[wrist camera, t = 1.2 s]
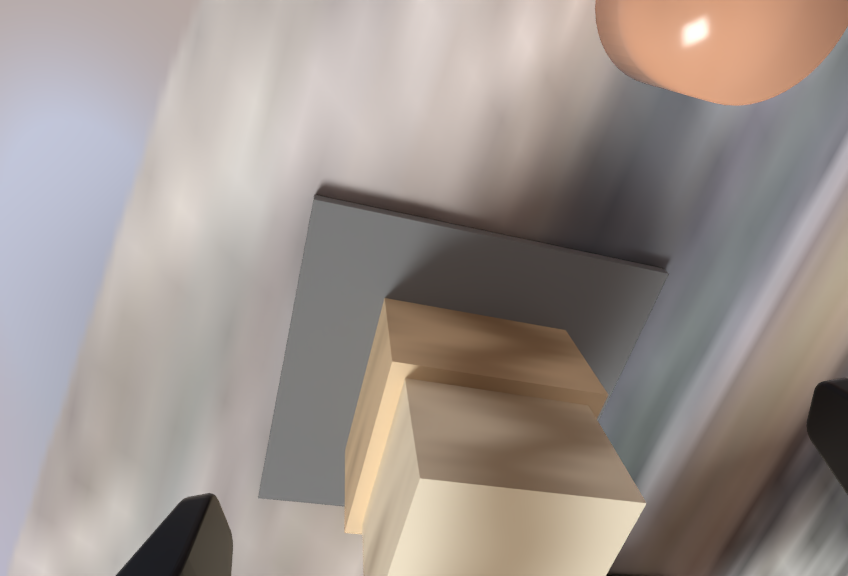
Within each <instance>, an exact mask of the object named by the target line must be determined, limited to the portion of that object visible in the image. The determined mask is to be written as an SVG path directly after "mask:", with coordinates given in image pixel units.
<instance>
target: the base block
mask: <svg viewBox="0 0 848 576" xmlns="http://www.w3.org/2000/svg"><path fill="white" fill-rule="evenodd" d="M405 378H408V379H414V380H421V381H428V382H435V383H441V384H448V385H455V386H462V387H468V388H475V389H482V390H489V391H495V392H502V393H509V394H516V395H522V396H529V397H536V398H543V399H549V400H556V401H563V402H569V403H576V404H583V405H588V406H589V407H590V409H591V411H592V412H593V414H594V416H595V417H596V419H597V418H598V416H599V414H600V412H601V409H602V407H603V405H604V403H605V401H606V399H607V397H608V393H607V392H606V390H605V389H604V387H603V386H602V384H601V383H600V381H599V380H598V378H597V377H596V375H595V374H594V372H593V371H592V369H591V368H590V366H589V365H588V363H587V362H586V360H585V358H584V357H583V355H582V354H581V352H580V351H579V349H578V348H577V346H576V345H575V343H574V342H573V340H572V339H571V337H570V336H569V334H568V333H567V331H566V330H562V329H556V328H551V327H545V326H540V325H534V324H528V323H523V322H517V321H511V320H506V319H500V318H495V317H489V316H483V315H478V314H472V313H466V312H461V311H455V310H450V309H444V308H438V307H433V306H427V305H421V304H416V303H410V302H405V301H399V300H393V299H388V298H384V302H383V306H382V309H381V313H380V317H379V321H378V325H377V329H376V333H375V337H374V340H373V344H372V348H371V352H370V356H369V360H368V364H367V368H366V371H365V375H364V379H363V383H362V387H361V391H360V395H359V399H358V402H357V406H356V410H355V414H354V418H353V422H352V426H351V430H350V433H349V437H348V441H347V445H346V449H345V533H352V534H362V522H363V519H364V516H365V512H366V509H367V505H368V502H369V499H370V495H371V492H372V488H373V485H374V482H375V478H376V475H377V471H378V468H379V465H380V461H381V458H382V454H383V451H384V447H385V444H386V441H387V437H388V434H389V430H390V427H391V424H392V420H393V417H394V413H395V410H396V407H397V403H398V400H399V396H400V393H401V390H402V386H403V383H404V379H405Z"/></svg>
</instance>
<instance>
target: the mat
mask: <svg viewBox="0 0 848 576" xmlns="http://www.w3.org/2000/svg"><path fill="white" fill-rule="evenodd" d="M668 275H669V274H668V273H667V272H666V271H665V270H664V269H663V268H659V267H654V266H649V265H644V264H640V263H635V262H630V261H626V260H621V259H616V258H611V257H607V256H602V255H597V254H593V253H588V252H583V251H578V250H574V249H569V248H564V247H559V246H555V245H550V244H545V243H541V242H536V241H531V240H526V239H522V238H517V237H512V236H508V235H503V234H498V233H493V232H489V231H484V230H479V229H474V228H470V227H465V226H460V225H456V224H451V223H446V222H441V221H437V220H432V219H427V218H423V217H418V216H413V215H408V214H404V213H399V212H394V211H389V210H385V209H380V208H375V207H371V206H366V205H361V204H356V203H352V202H347V201H342V200H338V199H333V198H328V197H323V196H319V195H314V200H313V206H312V211H311V216H310V222H309V227H308V232H307V238H306V243H305V248H304V254H303V259H302V265H301V270H300V275H299V281H298V286H297V291H296V297H295V302H294V308H293V313H292V318H291V324H290V329H289V334H288V340H287V345H286V351H285V356H284V361H283V367H282V372H281V377H280V383H279V388H278V393H277V399H276V404H275V410H274V415H273V420H272V426H271V431H270V436H269V442H268V447H267V453H266V458H265V463H264V469H263V474H262V479H261V485H260V490H259V496H258V498H262V499H273V500H283V501H293V502H304V503H314V504H325V505H335V506H345V449H346V445H347V441H348V437H349V433H350V430H351V426H352V422H353V418H354V414H355V410H356V406H357V402H358V399H359V395H360V391H361V387H362V383H363V379H364V375H365V371H366V368H367V364H368V360H369V356H370V352H371V348H372V344H373V340H374V337H375V333H376V329H377V325H378V321H379V317H380V313H381V309H382V306H383V302H384V298H388V299H393V300H399V301H405V302H410V303H416V304H421V305H427V306H433V307H438V308H444V309H450V310H455V311H461V312H466V313H472V314H478V315H483V316H489V317H495V318H500V319H506V320H511V321H517V322H523V323H528V324H534V325H540V326H545V327H551V328H556V329H562V330H566V331H567V333H568V334H569V336H570V337H571V339H572V340H573V342H574V343H575V345H576V346H577V348H578V349H579V351H580V352H581V354H582V355H583V357H584V358H585V360H586V362H587V363H588V365H589V366H590V368H591V369H592V371H593V372H594V374H595V375H596V377H597V378H598V380H599V381H600V383H601V384H602V386H603V387H604V389H605V390H606V392H607V393H608V397H607V399H606V401H605V403H604V405H603V407H602V409H601V412H600V414H599V416H598V418H597V421H599V419H600V417H601V415H602V413H603V411H604V409H605V406H606V404H607V402H608V400H609V398H610V396H611V394H612V392H613V390H614V388H615V386H616V383H617V381H618V379H619V377H620V375H621V373H622V371H623V369H624V367H625V365H626V363H627V360H628V358H629V356H630V354H631V352H632V350H633V348H634V346H635V344H636V342H637V340H638V337H639V335H640V333H641V331H642V329H643V327H644V325H645V323H646V321H647V319H648V317H649V314H650V312H651V310H652V308H653V306H654V304H655V302H656V300H657V298H658V296H659V294H660V291H661V289H662V287H663V285H664V283H665V281H666V279H667V277H668Z"/></svg>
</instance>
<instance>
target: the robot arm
mask: <svg viewBox="0 0 848 576" xmlns="http://www.w3.org/2000/svg"><path fill="white" fill-rule="evenodd" d="M807 432H808V435H809V437H810V440H811V441H812V443H813V444H814V446H815V447H816V449H817V450H818V452H819V453H820V455H821V456H822V458H823V459H824V461H825V462H826V464H827V465H828V467H829V468H830V470H831V471H832V473H833V474H834V476H835V477H836V478H837V480H838V481H839V483H840V484H841V486H842V487H843V489H844V490H845V492H846V493H847V495H848V378H840V379H834V380H829V381H824V382H821V383H819V384H818V385H817V386H816V388H815V390H814V394H813V398H812V402H811V406H810V411H809V415H808V419H807ZM232 554H233V540H232V534H231V530H230V528H229V525H228V523H227V520H226V518H225V516H224V513H223V511H222V508H221V506H220V503H219V501H218V499H217V497H216V496H215V495H214V494H211V493H207V494H202V495H196V496H191V497H187V498H184V499H183V500H182V501H181V502H180V503H179V504H178V505H177V506H176V507H175V508H174V509H173V511H172V512H171V513H170V514H169V515H168V516H167V517H166V519H165V520H164V521H163V522H162V523H161V524H160V525H159V527H158V528H157V529H156V530H155V531H154V532H153V534H152V535H151V536H150V537H149V538H148V539H147V540H146V542H145V543H144V544H143V545H142V546H141V547H140V548H139V550H138V551H137V552H136V553H135V554H134V555H133V556H132V558H131V559H130V560H129V561H128V562H127V563H126V564H125V566H124V567H123V568H122V569H121V570H120V571H119V572H118V574H117V575H116V576H231V569H232ZM606 576H610V575H606Z"/></svg>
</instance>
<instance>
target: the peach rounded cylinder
mask: <svg viewBox="0 0 848 576" xmlns="http://www.w3.org/2000/svg"><path fill="white" fill-rule="evenodd" d="M595 13H596V24H597V29H598V34H599V37H600V40H601V43H602V45H603V47H604V49H605V51H606V53H607V55H608V56H609V58H610V59H611V61H612V62H613V63H614V64H615V65H616V66H617V68H618V69H620V70H621V71H622V72H623V73H624V74H626V75H627V76H629V77H631V78H632V79H634V80H637V81H639V82H642V83H645V84H649V85H652V86H656V87H659V88H663V89H667V90H670V91H674V92H677V93H681V94H685V95H688V96H692V97H695V98H699V99H703V100H706V101H710V102H713V103H718V104H723V105H747V104H753V103H757V102H761V101H764V100H767V99H770V98H772V97H775V96H777V95H779V94H781V93H783V92H785V91H787V90H788V89H790V88H791V87H793V86H794V85H796V84H798V83H799V82H800V81H802V80H803V79H804V78H805V77H806V76H808V75H809V74H810V73H811V72H812V71H813V70H814V69H815V68H816V67H817V66H818V65H820V64H821V63H822V61H823V60H824V59H825V58H826V57H827V55H828V54H829V53H830V52H831V51H832V49H833V48H834V47H835V45H836V44H837V42H838V41H839V39H840V38H841V36H842V35H843V33H844V31H845V29H846V28H847V26H848V0H596V4H595Z"/></svg>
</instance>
